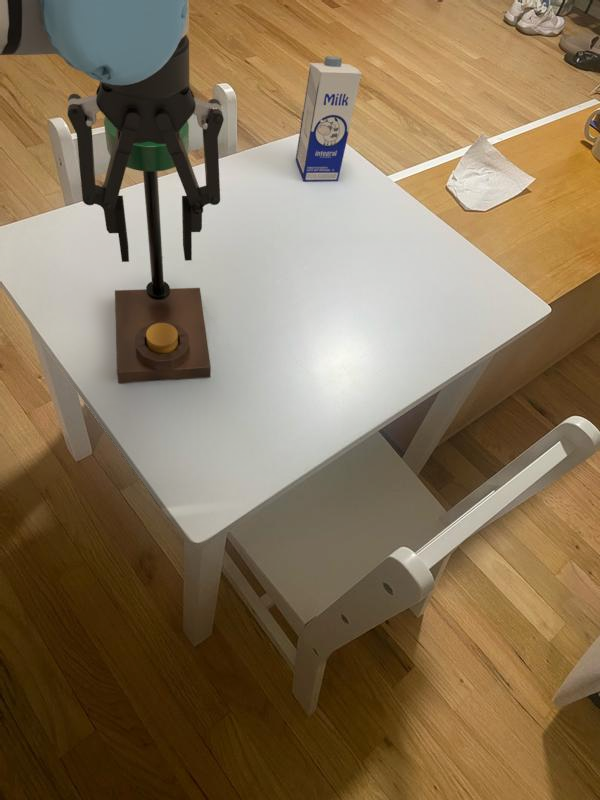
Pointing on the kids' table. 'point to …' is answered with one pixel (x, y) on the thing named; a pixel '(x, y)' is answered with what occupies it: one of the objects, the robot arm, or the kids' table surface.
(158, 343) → the lamp switch
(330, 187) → the kids' table surface
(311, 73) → the milk carton
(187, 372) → the lamp base
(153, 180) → the lamp
